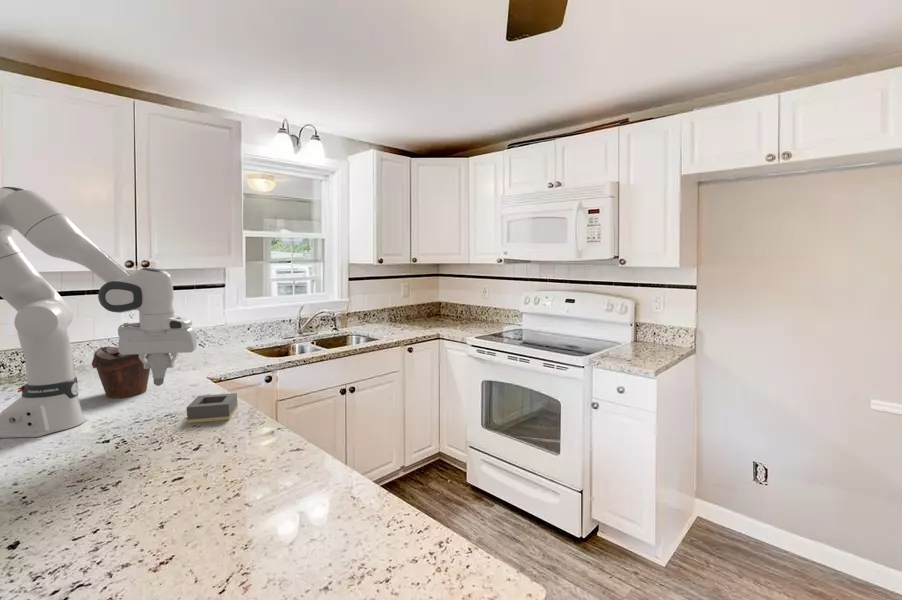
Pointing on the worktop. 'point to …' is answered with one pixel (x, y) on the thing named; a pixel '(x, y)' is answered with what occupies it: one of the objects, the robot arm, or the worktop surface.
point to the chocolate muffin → (120, 372)
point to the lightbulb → (158, 366)
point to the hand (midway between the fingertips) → (159, 367)
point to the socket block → (212, 408)
